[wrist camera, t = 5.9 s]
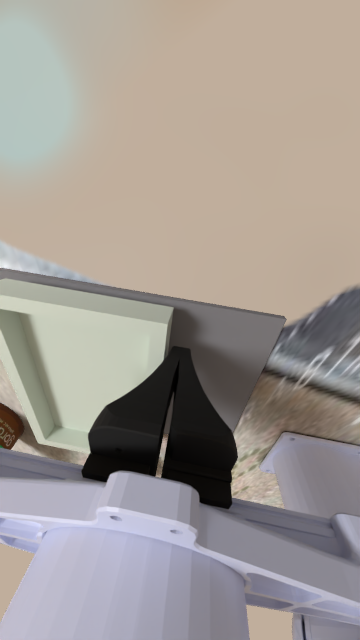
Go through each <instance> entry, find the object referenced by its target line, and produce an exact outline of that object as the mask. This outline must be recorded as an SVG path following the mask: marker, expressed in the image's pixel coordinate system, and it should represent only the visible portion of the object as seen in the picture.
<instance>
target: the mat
mask: <svg viewBox="0 0 360 640" xmlns="http://www.w3.org/2000/svg"><path fill="white" fill-rule="evenodd" d="M5 278H6V279H12V280H18V281H24V282H30V283H35V284H41V285H47V286H53V287H59V288H64V289H70V290H76V291H82V292H88V293H93V294H99V295H105V296H111V297H116V298H122V299H128V300H134V301H140V302H145V303H151V304H157V305H163V306H169V307H174V309H173V316H172V324H171V332H170V340H169V348H168V354H169V352H170V351H171V349H172V347H173V346H178V347H184V348H189V349H190V350H191V356H192V361H193V365H194V368H195V371H196V374H197V376H198V379H199V381H200V383H201V386H202V388H203V390H204V392H205V393H206V395H207V397H208V399H209V400H210V402H211V404H212V405H213V407H214V408H215V410H216V411H217V413H218V414H219V415H220V417H221V418H222V419H223V421H224V422H225V423H226V424H227V425H228V427H229V428H230V429H231V430H232V433H233V431H234V429H235V427H236V425H237V423H238V421H239V419H240V416H241V414H242V412H243V410H244V408H245V406H246V404H247V402H248V400H249V397H250V395H251V393H252V391H253V389H254V387H255V385H256V383H257V381H258V378H259V376H260V374H261V372H262V370H263V368H264V366H265V364H266V362H267V360H268V357H269V355H270V353H271V351H272V349H273V347H274V345H275V343H276V341H277V338H278V336H279V334H280V332H281V330H282V328H283V326H284V324H285V322H286V318H285V317H284V316H280V315H274V314H268V313H263V312H257V311H250V310H245V309H239V308H233V307H227V306H221V305H216V304H210V303H204V302H197V301H192V300H186V299H180V298H174V297H169V296H163V295H157V294H151V293H145V292H139V291H133V290H128V289H122V288H116V287H110V286H104V285H98V284H92V283H87V282H81V281H75V280H69V279H63V278H57V277H51V276H46V275H40V274H34V273H28V272H22V271H16V270H10V269H4V268H0V280H2V279H5ZM173 399H174V392H173V396H172V399H171V403H170V406H169V410H168V414H167V418H166V423H165V429H164V434H169V430H170V424H171V418H172V411H173Z"/></svg>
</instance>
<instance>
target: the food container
mask: <svg viewBox="0 0 360 640" xmlns="http://www.w3.org/2000/svg"><path fill="white" fill-rule="evenodd" d="M23 432H24V425H23V422H22V420H21V419H20V418H19V416H18V415H17V414H16V413H15V412H13V411H12V410H11V409H10V408H8V407H7V406H5V405H3V404H2V403H0V448H4V449H9V450H11V449H12V447H13V446H14V444H15V443H16V442H17V440H18V439H19V438H20V436H21V435H22V433H23Z"/></svg>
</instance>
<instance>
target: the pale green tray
mask: <svg viewBox="0 0 360 640" xmlns="http://www.w3.org/2000/svg"><path fill="white" fill-rule="evenodd" d="M173 309H174V307H169V306H163V305H157V304H151V303H145V302H140V301H134V300H128V299H122V298H116V297H111V296H105V295H99V294H93V293H88V292H82V291H76V290H70V289H64V288H59V287H53V286H47V285H41V284H35V283H30V282H24V281H18V280H12V279H6V278H5V279H2V280H0V359H1V361H2V363H3V366H4V368H5V370H6V372H7V375H8V377H9V379H10V381H11V384H12V386H13V388H14V390H15V393H16V395H17V397H18V399H19V402H20V404H21V406H22V408H23V411H24V413H25V415H26V417H27V420H28V422H29V424H30V426H31V429H32V431H33V433H34V435H35V438H36V440H37V442H38V443H39V444H43V445H48V446H53V447H58V448H63V449H68V450H72V451H77V452H82V453H87V454H90V447H89V441H88V433H89V431H90V429H91V427H92V425H93V423H94V422H95V420H96V418H97V417H98V415H99V414H100V413H101V411H102V410H103V409H104V407H105V406H106V405H108V404H109V403H111V402H113V401H115V400H117V399H118V398H120V397H122V396H123V395H125V394H126V393H128V392H129V391H131V390H132V389H134V388H135V387H137V386H138V385H139V384H140V383H142V382H143V381H144V380H145V379H146V378H148V377H149V376H150V375H151V374H152V373H153V372H154V371H155V370H156V369H157V367H158V366H159V365H160V364H161V363H162V362H163V360H164V359H165V358H166V357H167V355H168V348H169V340H170V332H171V324H172V316H173Z"/></svg>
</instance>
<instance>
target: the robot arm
mask: <svg viewBox="0 0 360 640" xmlns="http://www.w3.org/2000/svg"><path fill="white" fill-rule="evenodd" d="M173 392H174V399H173V411H172V418H171V424H170V430H169V435H168V441H167V447H166V453H165V458H164V464H163V470H162V475H161V478H159V477H155V476H156V470H157V465H158V460H159V455H160V449H161V444H162V439H163V434H164V429H165V423H166V418H167V414H168V410H169V406H170V403H171V399H172V396H173ZM88 441H89V447H90V454H89V456H88V458H87V460H86V462H85V464H84V466H83V465H78V464H73V463H69V462H64V461H60V460H55V459H50V458H46V457H41V456H36V455H32V454H27V453H22V452H18V451H13V450H9V449H4V448H0V543H1V544H5V545H8V546H11V547H14V548H17V549H21V550H24V551H27V552H30V553H34V554H35V556H34V557H33V560H32V561H31V563H30V565H29V567H28V569H27V571H26V573H25V575H24V577H23V579H22V581H21V583H20V585H19V587H18V589H17V591H16V593H15V595H14V597H13V599H12V601H11V603H10V605H9V607H8V609H7V610H6V612H5V614H4V616H3V618H2V621H1V622H0V640H250V638H249V629H248V619H247V609H246V605H251V606H257V607H263V608H268V609H274V610H280V611H286V612H291V613H293V618H292V635H293V640H360V446H356V445H351V444H346V443H341V442H336V441H330V440H325V439H320V438H315V437H310V436H305V435H300V434H294V433H289V432H284V433H282V435H281V436H280V437H279V439H278V440H277V442H276V443H275V445H274V446H273V447H272V449H271V450H270V452H269V453H268V454H267V456H266V457H265V459H264V460H263V462H262V463H261V464H260V466H259V468H260V470H261V471H263V472H267V473H272V474H276V478H277V482H278V485H279V489H280V493H281V496H282V500H283V504H284V508H285V509H282V508H277V507H273V506H268V505H263V504H259V503H254V502H250V501H245V500H240V499H236V498H232V495H231V484H230V483H231V482H232V475H231V470H232V468H233V466H234V465H235V463H236V461H237V458H238V455H237V448H236V443H235V440H234V436H233V433H232V430H231V429H230V428H229V427H228V425H227V424H226V423H225V422H224V421H223V419H222V418H221V417H220V415H219V414H218V413H217V411H216V410H215V408H214V407H213V405H212V404H211V402H210V400H209V399H208V397H207V395H206V393H205V392H204V390H203V388H202V386H201V383H200V381H199V379H198V376H197V374H196V371H195V368H194V365H193V361H192V356H191V350H190V349H189V348H184V347H178V346H173V347H172V349H171V351H170V352H169V354H168V355H167V357H166V358H165V359H164V360H163V362H162V363H161V364H160V365H159V366H158V367H157V369H156V370H155V371H154V372H153V373H152V374H151V375H150V376H149V377H148V378H146V379H145V380H144V381H143V382H142V383H140V384H139V385H138V386H137V387H135V388H134V389H132V390H131V391H129V392H128V393H126V394H125V395H123V396H122V397H120V398H118V399H117V400H115V401H113V402H111V403H109V404H108V405H106V406H105V407H104V409H103V410H102V411H101V413H100V414H99V415H98V417H97V418H96V420H95V422H94V423H93V425H92V427H91V429H90V431H89V433H88Z"/></svg>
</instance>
